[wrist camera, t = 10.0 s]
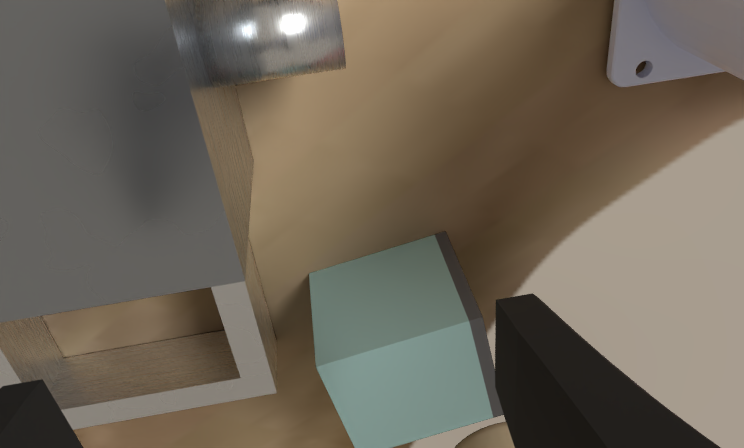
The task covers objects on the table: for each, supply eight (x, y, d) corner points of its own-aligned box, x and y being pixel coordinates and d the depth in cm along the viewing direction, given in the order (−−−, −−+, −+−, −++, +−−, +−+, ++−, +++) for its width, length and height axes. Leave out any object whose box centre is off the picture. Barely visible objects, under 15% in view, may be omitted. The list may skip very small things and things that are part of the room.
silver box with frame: (299, -211, 14) (320, -256, 7) (375, 324, 23) (413, 512, 16) (-299, -137, 13) (-855, -115, 7) (25, 385, 22) (-76, 606, 16)
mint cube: (308, 272, 21) (445, 231, 21) (346, 358, 24) (468, 321, 23) (315, 367, 17) (482, 316, 17) (359, 457, 20) (505, 414, 20)
